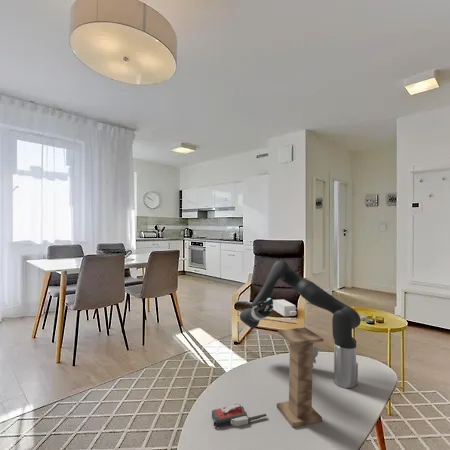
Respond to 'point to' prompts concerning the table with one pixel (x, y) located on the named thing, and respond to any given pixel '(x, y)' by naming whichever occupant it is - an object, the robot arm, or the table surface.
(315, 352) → the figurine
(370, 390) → the table surface
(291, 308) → the white block with ball
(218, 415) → the walkie-talkie
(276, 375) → the table surface
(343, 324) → the robot arm
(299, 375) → the stand
